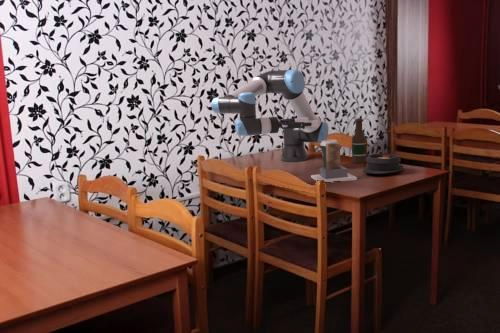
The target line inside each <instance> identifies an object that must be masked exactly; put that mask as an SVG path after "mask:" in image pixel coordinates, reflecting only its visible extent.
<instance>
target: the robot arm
mask: <svg viewBox="0 0 500 333" xmlns="http://www.w3.org/2000/svg"><path fill="white" fill-rule="evenodd" d="M305 79H306V78H305V77H304V75H303V73H302V71H300V70H298V69H281V70H275V69H274V70H268V71H265V72H263V73H260V74H257V76H255V77H253V78H252V79H251V80H250V82H248V83H246V84H244V85H243V86H241V87H239V88H237V89H235V90H233V91H231V92H230V93H227V94H225V95H224V96H221V97H220V96H218V97H214V98H212V100H211V110H212V111H213V113H215V114H221V115H222V114H238V115H239V119H236V120H235V123H234V126H235V128H234V129H235V132H236V135H237V136H239V137H243V136H245V137H248V136H256V135H257V136H258V135H262V136H265V135H266V134H267V135H268V134H277V133H279V131H280V129H281V130H282V131H283V149H282V154H281V156H280V157H281V161H282V162H290V163H291V162H293V163H294V162H303V161H307V160H308V153H307V151H306V147H305V143H315V144H319V143H320V144H321V142H322V140H328V136H329V124H328V122H325V121H322V120H321V118H320V117H319V116H317V115H316V114H315V113H314V110H313V109H312V107H311V105H310V103H309V101H308V99H307V97H306V95H305V94H304V90H305V87H306V81H305ZM265 94H281V95H282V97H283V98H284V99H285V100H287V101H288V102H289V103H290V106H291V107H292V109H293V111H294V113H295V114H296V116H297V117H296V118H295V117H294V116H292V117H291V118H285V119H278V117H277V116H270V117H268V116H267V117H258V118H257V111H256V108H257V107H256V97H257V96H263V95H265Z"/></svg>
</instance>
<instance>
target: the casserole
mask: <svg viewBox="0 0 500 333" xmlns="http://www.w3.org/2000/svg"><path fill="white" fill-rule="evenodd" d="M401 161H402V160H401V158H400V156H399V155H398V154H395V153H381V152H380V153H373V154H369V155H367V157H366V163H367V166H365V167H364V168H363V169H362V173H365V174H371V175H372V174H373V175H392V174H396V173H398V172H401V171H402V170H403V168H405V166H404V165H403V164H400V162H401Z"/></svg>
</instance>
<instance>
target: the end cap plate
mask: <svg viewBox="0 0 500 333" xmlns="http://www.w3.org/2000/svg"><path fill="white" fill-rule="evenodd" d="M310 177H311V179H313V180H314V181H316V182H318V181H317V180H324V181H325V182H331V183H334V182H333V181H341V182H347V181H348V182H349V181H357V180H358V177H357V176H355V175H353V174H350V173H349V172H348V168H347V167H345V166H343V165H340V169H331V170H327V169H326V167H324V166H322V167H319V174H312V175H310Z"/></svg>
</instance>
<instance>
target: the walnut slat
mask: <svg viewBox="0 0 500 333" xmlns="http://www.w3.org/2000/svg"><path fill="white" fill-rule="evenodd" d="M340 166H341V143H340V142H338V143H327V144H326V169H327V170H331V169H340Z"/></svg>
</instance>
